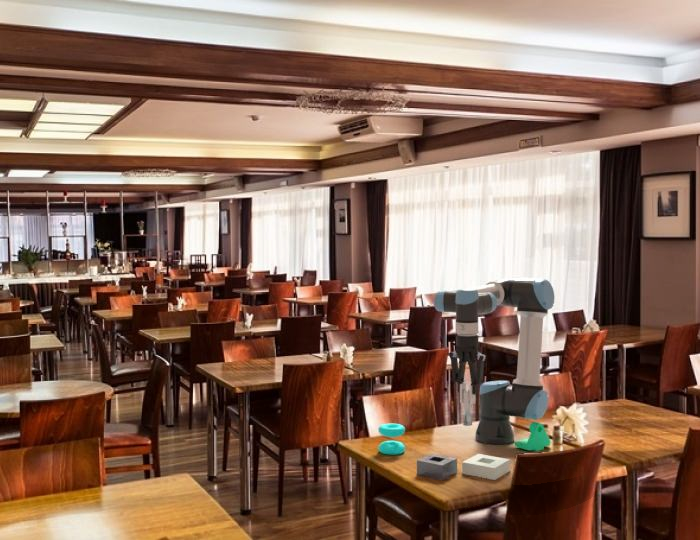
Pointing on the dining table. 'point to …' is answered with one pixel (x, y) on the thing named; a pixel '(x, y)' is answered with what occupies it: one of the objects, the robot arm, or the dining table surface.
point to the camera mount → (535, 438)
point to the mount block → (437, 466)
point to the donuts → (391, 446)
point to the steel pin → (467, 409)
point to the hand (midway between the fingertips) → (467, 402)
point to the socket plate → (486, 466)
